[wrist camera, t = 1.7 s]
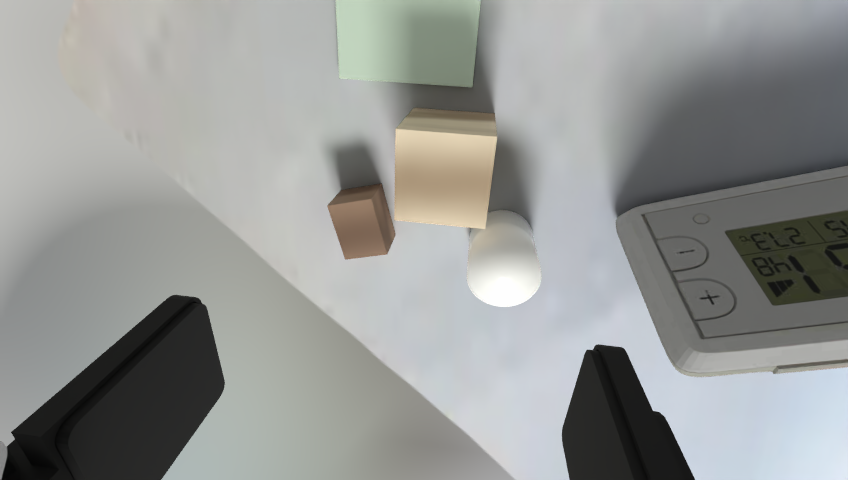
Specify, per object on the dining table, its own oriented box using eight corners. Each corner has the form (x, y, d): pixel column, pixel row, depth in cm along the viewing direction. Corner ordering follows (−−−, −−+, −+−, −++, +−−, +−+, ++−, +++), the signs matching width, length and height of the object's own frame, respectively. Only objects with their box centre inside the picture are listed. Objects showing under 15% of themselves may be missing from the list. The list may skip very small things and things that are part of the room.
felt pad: (335, -86, 21) (331, -89, 21) (488, -82, 21) (489, -85, 20) (342, 77, 25) (339, 78, 25) (472, 86, 24) (472, 87, 24)
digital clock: (925, 149, 23) (1225, 234, 14) (860, 284, 27) (1057, 420, 18) (618, 160, 25) (696, 239, 16) (601, 282, 30) (655, 401, 20)
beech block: (413, 107, 26) (395, 128, 20) (494, 113, 25) (497, 136, 20) (411, 183, 28) (394, 220, 23) (485, 190, 27) (485, 229, 22)
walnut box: (341, 189, 29) (327, 205, 26) (381, 182, 28) (371, 198, 26) (357, 239, 31) (345, 259, 28) (395, 234, 30) (386, 254, 27)
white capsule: (472, 207, 28) (470, 240, 24) (537, 213, 28) (547, 248, 23) (466, 262, 30) (463, 302, 26) (527, 268, 30) (534, 310, 25)
